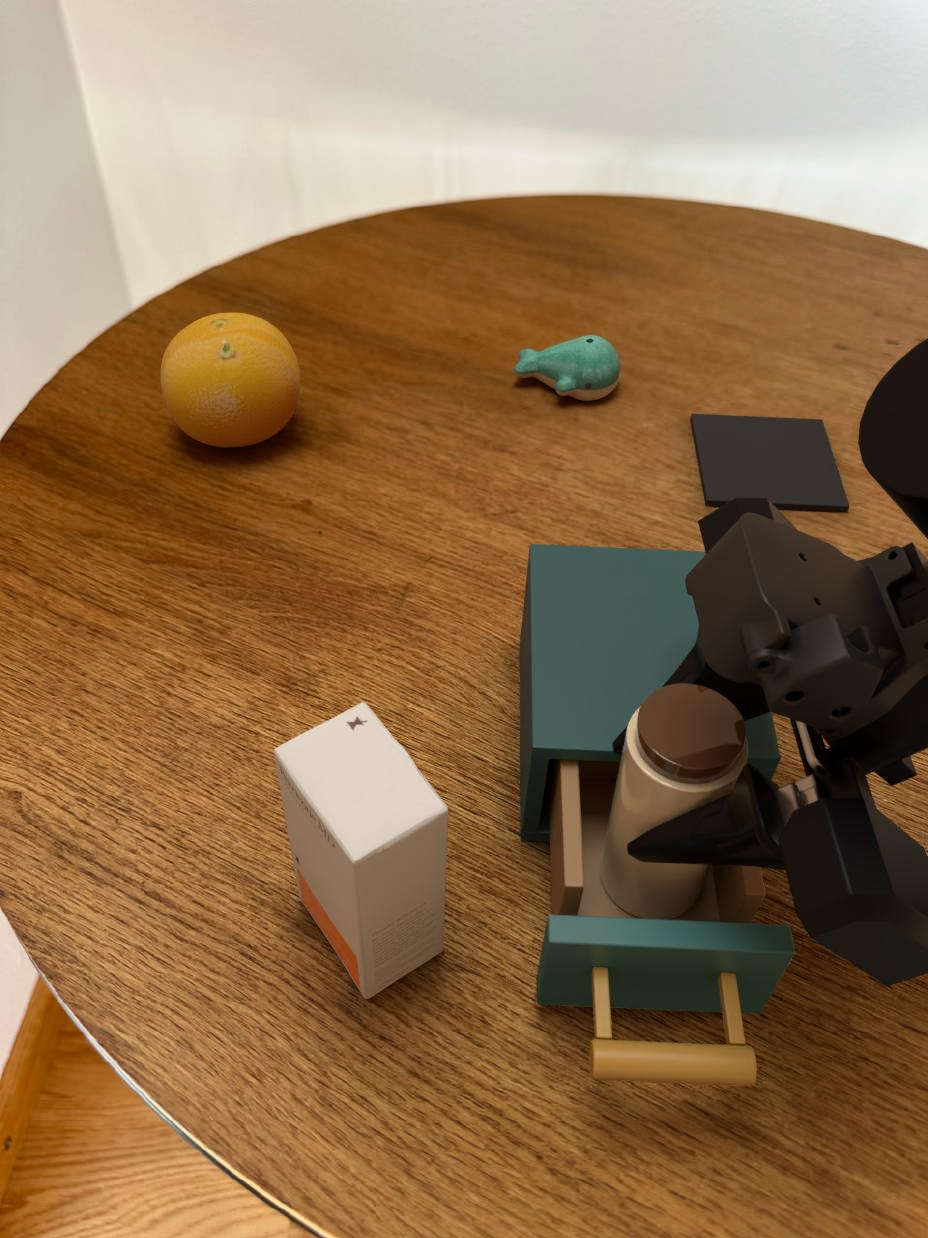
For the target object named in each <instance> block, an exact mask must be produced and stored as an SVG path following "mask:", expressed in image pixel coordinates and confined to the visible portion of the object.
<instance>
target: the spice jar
mask: <svg viewBox="0 0 928 1238" xmlns="http://www.w3.org/2000/svg"><path fill="white" fill-rule="evenodd" d="M747 758H748V742H747V739H746V730H745V724H744V721H743V718H742V716H741V714H740V713H739V711H738V709H737V708H736V707H735V706H734V704H733V703H732V702H731V701H729V700H728V699H727V698H726V697H725V696H723V695H721V694H720V693H718V692H716V691H714V690H712V689H710V688H707V687H704V686H700V685H696V684H687V683H681V684H672V685H668V686H665V687H662V688H660V689H658V690H656V691H654V692H653V693H651V694H650V695H649V696H648V697H647V698H646V699H645V700H644V702H643V703H642V705H641V707H639V708H638V709H637V710H636V711H635V713H634V714H633V715H632V717H631V719H630V721H629V723H628V726H627V730H626V735H625V740H624V745H623V750H622V755H621V760H620V765H619V770H618V775H617V780H616V785H615V790H614V795H613V800H612V805H611V810H610V815H609V820H608V825H607V830H606V835H605V840H604V845H603V850H602V855H601V860H600V877H601V881H602V884H603V886H604V889H605V890H606V892H607V894H608V895H609V897H610V898H611V899H612V900H613V901H614V902H615V903H616V904H617V905H618V906H619V907H620V908H622V909H623V910H624V911H626V912H628V913H629V914H632V915H634V916H636V917H639V918H642V919H663V920H668V919H672V918H675V917H678V916H680V915H682V914H684V913H685V912H687V911H688V910H689V909H691V908H692V907H693V905H694V904H695V903H696V902H697V900H698V898H699V897H700V894H701V892H702V889H703V886H704V883H705V880H706V877H707V874H708V872H709V869H710V866H711V865H710V864H678V863H646V862H640V861H638V860H637V859H635V858H633V857H632V856H630V855H629V854H628V852H627V844H628V843H629V842H631V841H632V840H634V839H636V838H637V837H639V836H640V835H642V834H644V833H645V832H647V831H648V830H650V829H652V828H654V827H656V826H658V825H660V824H663V823H665V822H667V821H669V820H672V819H674V818H676V817H678V816H681V815H683V814H685V813H687V812H690V811H692V810H694V809H696V808H699V807H701V806H703V805H705V804H707V803H710V802H712V801H714V800H716V799H719V798H721V797H723V796H725V795H727V794H729V793H730V792H731V791H732V789H733V787H734V785H735V783H736V781H737V779H738V777H739V775H740V773H741V771H742V769H743V767H744V766H745V765H746V763H747Z"/></svg>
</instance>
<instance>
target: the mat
mask: <svg viewBox="0 0 928 1238" xmlns="http://www.w3.org/2000/svg"><path fill="white" fill-rule="evenodd" d="M689 420H690V425H691V431H692V436H693V440H694V447H695V453H696V459H697V464H698V469H699V470H698V471H699V476H700V481H701V487H702V492H703V498H704V504H705V506H706V507H721V506H723V505H725V504H726V503H728V502H729V501H731V500H733V499H734V498H767V499H768V500H769V501H770V502H771V503H772V504H773V505H774V506H775V507H776V508H777V509H778V510H795V511H796V510H797V511H798V510H799V511H816V512H817V511H818V512H839V513H847V512H849V509H850V503H849V499H848V497H847V494H846V491H845V488H844V487H845V486H844V484H843V480H842V478H841V475H840V472H839V469H838V466H837V465H838V464H837V462H836V459H835V455H834V452H833V449H832V445H831V443H830V440H829V437H828V436H829V435H828V433H827V430H826V427H825V424H824V420H823V419H821V418H801V417H800V418H799V417H777V416H776V417H775V416H757V415H756V416H755V415H733V414H732V415H730V414H710V413H691V415H690V419H689Z"/></svg>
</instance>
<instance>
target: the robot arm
mask: <svg viewBox="0 0 928 1238" xmlns="http://www.w3.org/2000/svg"><path fill="white" fill-rule="evenodd" d="M857 438H858V440H857V443H858V448H859V453H860V457H861V462H862V463H863V467H864V468H865V470H866V471H867V472H868V474H869V475H870V477H872V478H873V479H874V481H876V483H877V484H878V485H879V486H880V487H881V488H882V490H883V491H884V492H885V493H886V494H887V496H889V497H890V499H891V500H892V501H893V502H894V503H895V504H896V506H897V507H898V508H899V509H900V510H901V511H902V512H903V513H904V515H906V517H907V518H908V519H909V520H910V522H912V524H913V525H914V526H915V527H916V528H917V529H918V530H919V531H920V533H921V534H922V535H923V536H924V537H925V538H926V540H928V337H927V338H926V339H924V340H922V341H921V342H919V343H917V344H916V345H915V346H913V348H911V349H910V350H909V351H908V352H906V353H905V354H904V355H903V356H902V357H900V358H899V359H898V360H897V361H896V362H895V363H894V364H892V366H891V367H890V369H888V371H887V372H886V373H885V374H884V376H883V377H882V378H881V379H880V380H879V381H878V383H877V384H876V386H875V387H874V390H873V391H872V393H871V394H870V396H869V398H868V400H867V401H866V403H865V407H864V409H863V413H862V415H861V418H860V421H859V428H858V437H857ZM697 523H698V528H699V531H700V536H701V540H702V544H703V548H704V552H706V555H705V556H704V557H703V558H702V559H701V560H700V561H699V562H698V563H697V565H696V566H695V567H694V568H693V569H692V570H691V571H690V572H689V573H688V574H687V576H686V578H685V583H686V589H687V593H688V595H691V596H692V597H693V600H694V605H695V609H696V613H697V618H698V622H699V628H698V634H697V639H696V642H695V645H694V647H693V648H692V650H691V651H690V652H689V654H688V655H687V656H686V658H685V659H684V660H683V662H682V663H681V664H680V666H679V667H678V668H677V669H676V671H675V672H674V673H673V674H672V676H671V677H670V678H669V679H668V680H667V681H666V683H665V684H664V685H663V686H662V687H665V686H668V685H672V684H681V683H687V684H696V685H700V686H704V687H707V688H710V689H712V690H714V691H716V692H718V693H720V694H721V695H723V696H725V697H726V698H727V699H728V700H729V701H731V702H732V703H733V704H734V706H735V707H736V708H737V709H738V711H739V713H740V714H741V716H742V718H743V721H747V720H748V719H749V720H750V719H753V718H755V717H758V716H761V715H763V714H766V713H769V712H772V714H773V715H774V714H775V715H777V716H781V717H784V718H786V719H789V721H790V724H791V728H792V732H793V735H794V738H795V739H794V740H795V742H796V746H797V750H798V752H799V756H800V757H799V758H800V760H801V764H802V767H803V771H804V774H805V777H802V778H800V779H798V780H796V781H794V782H792V781H791V782H790V783H788V784H786V785H784V786H781V787H780V786H779V785H778V784H777V783H776V782H774V781H773V780H770V779H769V778H767V777H766V776H765V775H763V774H762V773H761V772H759V771H758V770H757V769H756V768H754V767H753V766H752V765H750V764H749V763H747V764H746V765H745V766H744V767H743V769H742V771H741V773H740V775H739V777H738V779H737V781H736V783H735V785H734V787H733V789H732V791H731V792H730V793H729V794H727V795H725V796H723V797H721V798H719V799H716V800H714V801H712V802H710V803H707V804H705V805H703V806H701V807H699V808H696V809H694V810H692V811H690V812H687V813H685V814H683V815H681V816H678V817H676V818H674V819H672V820H669V821H667V822H665V823H663V824H660V825H658V826H656V827H654V828H652V829H650V830H648V831H647V832H645V833H644V834H642V835H640V836H639V837H637V838H636V839H634V840H632V841H631V842H629V843H628V844H627V852H628V854H629V855H630V856H632V857H633V858H635V859H637V860H638V861H640V862H646V863H678V864H710V865H737V866H754V867H761V868H764V869H772V870H777V871H785V875H786V879H787V882H788V887H789V891H790V895H791V900H792V903H793V908H794V911H795V915H796V917H797V919H798V920H799V922H800V923H801V925H802V927H803V929H804V930H805V932H806V934H807V935H808V937H809V939H811V940H812V941H814V942H816V943H817V944H818V945H820V946H822V947H823V948H825V949H827V950H828V951H830V952H831V953H833V954H834V955H836V956H838V957H839V958H841V959H842V960H844V961H846V962H847V963H850V965H852V966H854V967H855V968H857V969H859V970H860V971H861V972H863V973H865V974H866V975H868V976H870V977H871V978H873V979H874V980H876V981H877V982H879V983H880V984H882V985H883V986H886V987H891V986H894V985H897V984H900V983H904V982H907V981H908V980H913V979H915V978H919V977H921V976H922V977H923V976H924V975H928V854H927V850H926V849H925V847H924V846H923V845H922V844H921V843H920V842H918V841H916V840H915V839H914V838H913V837H912V836H911V835H909V834H908V833H907V832H906V831H905V830H903V829H902V828H901V827H900V826H899V825H897V824H896V823H895V822H894V821H893V820H891V819H890V818H889V817H887V816H886V815H885V814H884V813H882V812H881V811H880V810H879V809H878V808H877V805H876V803H875V800H874V796H873V794H872V790H871V787H870V785H869V781H868V778H867V776H868V775H870V774H872V773H875V774H876V775H878V776H879V777H880V778H881V779H882V780H883V781H885V783H887V784H888V785H889V786H890V787H894V786H895V785H899V784H900V783H902V782H905V781H907V780H909V779H912V778H914V777H917V776H918V773H917V769H916V768H915V767H916V766H915V765H914V763H913V762H914V761H913V760H912V756H914V755H916V754H919V753H920V752H924V751H925V750H928V559H927V556H925V555H924V554H923V553H922V551H921V550H920V549H919V548H918V546H916V544H915V543H914V542H913V541H911V542H909V543H907V544H906V545H903V546H899V545H893V546H890V547H889V548H887V549H884V550H882V551H880V552H878V553H877V554H875V555H874V556H870V557H867V558H861V559H858V560H856V559H855V558H853V557H850V556H848V555H846V554H844V552H842V551H841V550H840V549H839V548H837V547H836V546H834V545H833V544H831V543H829V542H827V541H825V540H823V539H820V538H818V537H815V536H812V535H810V534H808V533H805V532H804V531H800V530H798V529H797V527H795V525H794V524H793V523H792V522H791V521H790V520H789V519H788V518H787V517H786V516H785V515H784V513H782V512H781V511H780V509H777V508H776V507H775V506H774V505H773V504H772V503H771V502H770V501H769V500H768V499H767V498H734V499H733V500H731V501H729V502H728V503H726V504H725V505H723V506H719V507H718V508H716V509H715V510H713V511H712V512H710V513H708V514H706V515H705V516H703V517H702V518H700V519H698V520H697ZM662 687H661V688H662ZM627 726H628V725H627ZM627 726H626V728H625V729H624V730H623V731H622V732H621V733H620V734H619V735H618V737H617V738H616V739H615V740H614V741H613V743H612V747H613V752H614V753H615V754H617V755H618V756H620V757H621V755H622V750H623V745H624V740H625V735H626V730H627ZM825 742H826V744H827V745H828V747H827V746H826V744H825ZM826 747H827V748H826Z"/></svg>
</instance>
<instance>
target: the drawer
mask: <svg viewBox="0 0 928 1238" xmlns="http://www.w3.org/2000/svg"><path fill="white" fill-rule="evenodd" d="M619 765H620V762H612V761H589V760H566V759H551V760H550V767H549V773H548V776H549V817H550V842H549V846H550V847H549V852H550V857H549V858H550V894H551V895H550V896H551V899H550V901H551V914H548V916H547V919H546V924H545V931H544V935H543V941H542V946H541V952H540V957H539V962H538V968H537V973H536V979H535V983H536V985H535V987H536V989H535V990H536V991H535V992H536V993H535V995H536V1004H537V1005H543V1006H565V1007H566V1006H567V1007H584V1008H585V1007H586V1008H587V1007H589V1008H592V1011H593V1013H592V1014H593V1015H592V1016H593V1033H594V1035H593V1036H594V1038H593V1039H591V1040H590V1043H589V1050H588V1067H589V1069H588V1070H589V1077H590V1079H592V1080H595V1081H615V1082H637V1083H638V1082H639V1083H657V1084H658V1083H659V1084H660V1083H662V1084H679V1085H680V1084H682V1085H683V1084H685V1085H704V1086H705V1085H706V1086H729V1087H747V1088H748V1087H750V1088H751V1087H754V1086H755V1085H756V1082H757V1076H758V1066H757V1058H756V1053H755V1051H754V1049H753V1047H752V1046H750V1045H746V1036H745V1030H744V1023H743V1017H742V1015H743V1014H744V1015H745V1014H747V1015H761V1014H762V1012H763V1010H764V1008H765V1006H766V1005H767V1003H768V1002H769V1000H770V998H771V996H772V994H773V993H774V991H775V989H776V988H777V986H778V984H779V982H780V981H781V979H782V977H783V975H784V974H785V972H786V970H787V968H788V966H790V963H791V961H792V960H793V958H794V956H795V954H796V950H795V945H794V944H795V943H794V937H793V933H792V932H793V931H792V927H791V925H789V924H776V923H775V924H774V923H773V924H772V923H753V921H754V920H755V917H756V915H757V913H758V911H759V909H760V907H761V905H762V903H763V901H764V899H765V897H766V888H765V883H764V877H763V871H762V867H754V866H737V865H711V866H710V869H709V872H708V874H707V877H706V880H705V883H704V886H703V889H702V892H701V894H700V897H699V898H698V900H697V902H696V903H695V904H694V905H693V907H692V908H691V909H689V910H688V911H687V912H685V913H684V914H682V915H680V916H678V917H675V918H672V919H668V920H663V919H642V918H639V917H636V916H634V915H632V914H629V913H628V912H626V911H624V910H623V909H622V908H620V907H619V906H618V905H617V904H616V903H615V902H614V901H613V900H612V899H611V898H610V897H609V895H608V894H607V892H606V890H605V889H604V886H603V884H602V881H601V877H600V860H601V855H602V850H603V845H604V840H605V835H606V830H607V825H608V820H609V815H610V810H611V805H612V800H613V795H614V790H615V785H616V780H617V775H618V770H619ZM611 1009H631V1010H632V1009H634V1010H652V1011H653V1010H655V1011H656V1010H657V1011H679V1012H701V1013H720V1014H722V1021H723V1028H724V1036H725V1044H717V1043H716V1044H715V1043H714V1044H713V1043H693V1042H691V1043H690V1042H673V1041H672V1042H670V1041H669V1042H668V1041H651V1040H650V1041H647V1040H646V1041H645V1040H628V1039H627V1040H626V1039H623V1040H622V1039H613V1029H612V1028H613V1025H612V1011H611Z"/></svg>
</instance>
